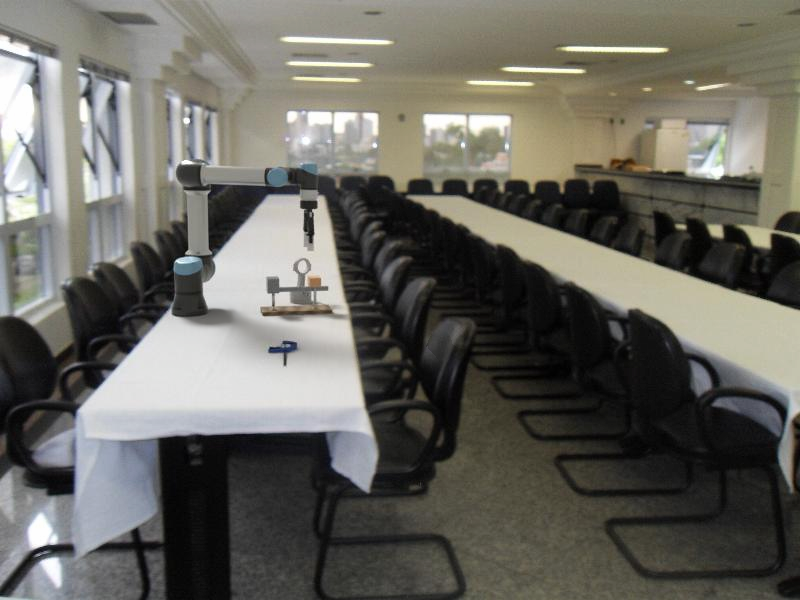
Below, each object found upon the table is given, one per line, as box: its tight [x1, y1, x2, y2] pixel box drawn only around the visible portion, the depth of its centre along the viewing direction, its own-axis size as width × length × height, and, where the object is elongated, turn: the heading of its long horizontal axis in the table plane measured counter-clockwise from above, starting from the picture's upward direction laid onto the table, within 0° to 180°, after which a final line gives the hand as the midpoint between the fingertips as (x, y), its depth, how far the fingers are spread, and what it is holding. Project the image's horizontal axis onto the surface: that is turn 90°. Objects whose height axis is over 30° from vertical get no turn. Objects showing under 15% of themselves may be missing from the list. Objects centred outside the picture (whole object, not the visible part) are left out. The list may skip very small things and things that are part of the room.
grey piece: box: [265, 275, 329, 310], centre depth 346 cm, size 26×7×14 cm, turn 104°
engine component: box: [289, 257, 312, 305], centre depth 369 cm, size 11×20×10 cm
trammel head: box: [307, 275, 322, 307], centre depth 348 cm, size 5×7×13 cm
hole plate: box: [260, 304, 333, 317], centre depth 348 cm, size 30×12×2 cm, turn 104°
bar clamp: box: [267, 340, 298, 367], centre depth 272 cm, size 32×2×10 cm
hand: (308, 248), depth 346 cm, fingers open, 13 cm apart
